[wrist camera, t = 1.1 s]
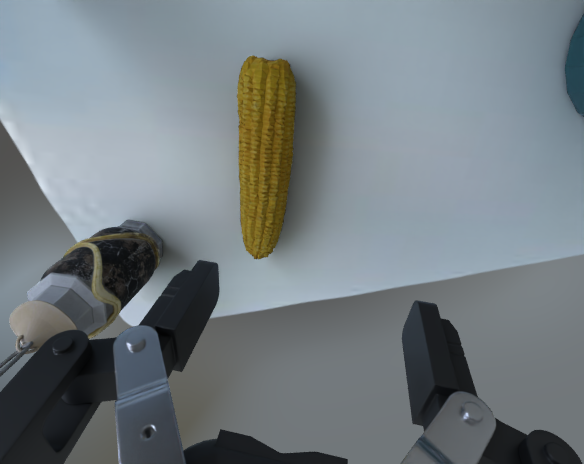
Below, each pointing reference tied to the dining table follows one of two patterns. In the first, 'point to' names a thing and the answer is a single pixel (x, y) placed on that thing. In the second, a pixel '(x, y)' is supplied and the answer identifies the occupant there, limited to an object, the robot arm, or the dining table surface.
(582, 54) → the bowl
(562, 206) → the dining table surface
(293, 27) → the dining table surface
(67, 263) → the lantern
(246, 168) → the food
